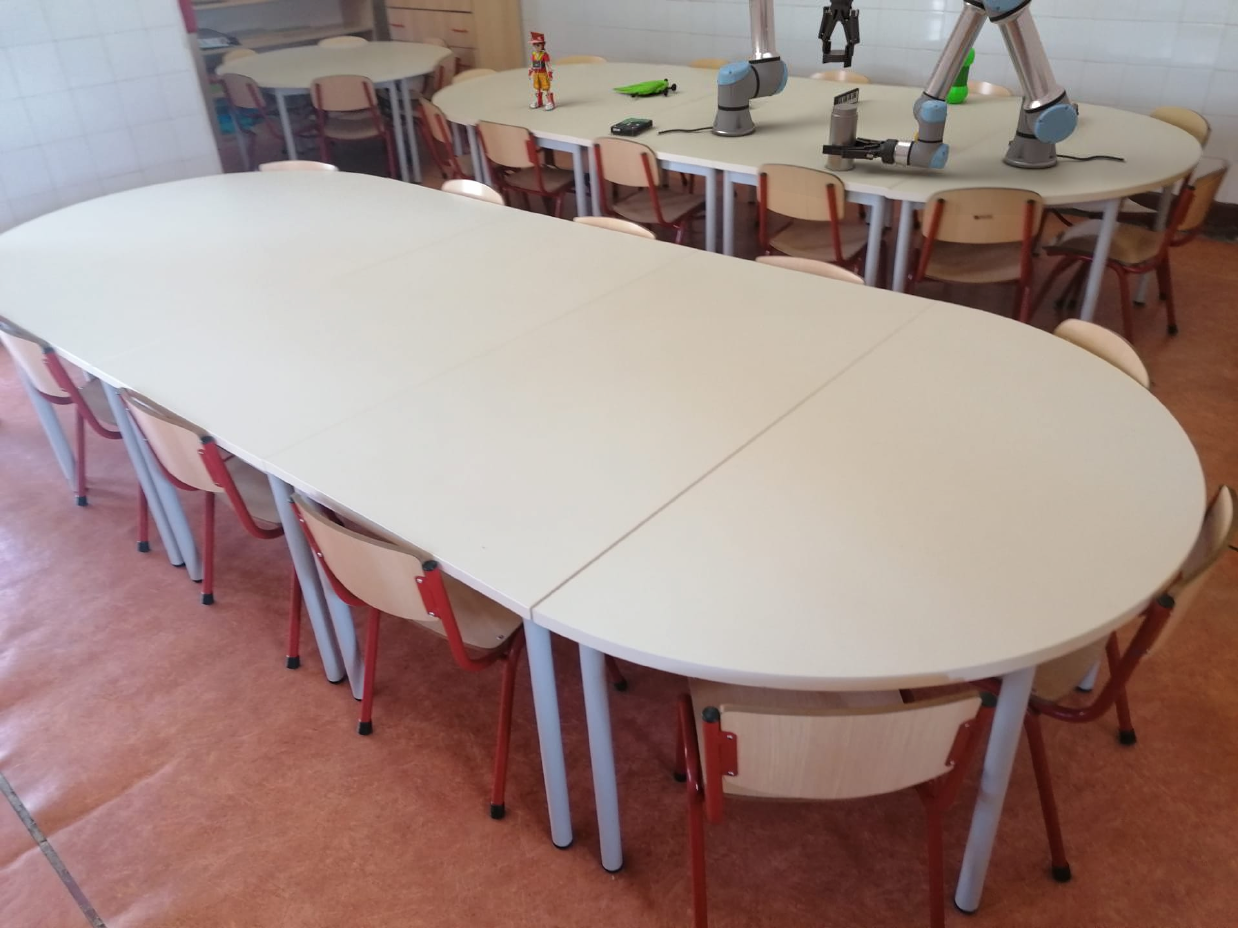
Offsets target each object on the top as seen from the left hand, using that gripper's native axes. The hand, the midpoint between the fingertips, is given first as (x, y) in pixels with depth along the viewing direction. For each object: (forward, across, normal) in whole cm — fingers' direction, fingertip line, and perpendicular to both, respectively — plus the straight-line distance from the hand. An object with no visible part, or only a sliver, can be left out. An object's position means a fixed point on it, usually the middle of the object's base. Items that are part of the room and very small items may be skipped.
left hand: (836, 65), depth 294 cm
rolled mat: (+28, +32, +74) cm, 85 cm away
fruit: (+28, +22, +24) cm, 43 cm away
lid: (-4, 0, 0) cm, 4 cm away
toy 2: (+27, -122, +3) cm, 125 cm away
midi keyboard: (+28, -41, +48) cm, 68 cm away
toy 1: (+27, -129, -43) cm, 139 cm away
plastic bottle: (+28, -15, +81) cm, 87 cm away
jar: (+28, +15, -10) cm, 33 cm away
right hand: (+21, +11, -12) cm, 27 cm away
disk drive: (+28, -71, -36) cm, 84 cm away
